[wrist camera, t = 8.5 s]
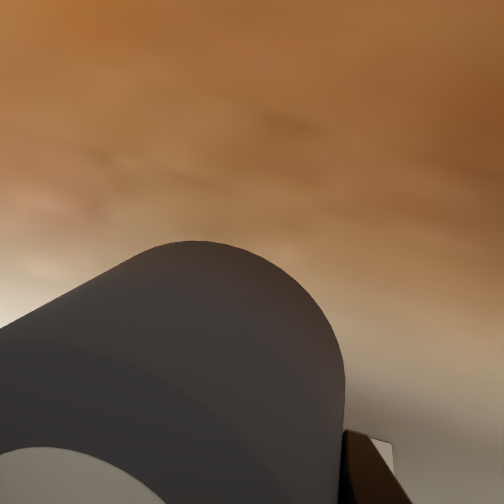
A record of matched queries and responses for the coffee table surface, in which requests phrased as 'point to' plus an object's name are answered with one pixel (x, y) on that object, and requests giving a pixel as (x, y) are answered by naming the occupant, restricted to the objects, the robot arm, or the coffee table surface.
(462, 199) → the coffee table surface
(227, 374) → the grey cylinder white cap
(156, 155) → the coffee table surface
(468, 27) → the coffee table surface
